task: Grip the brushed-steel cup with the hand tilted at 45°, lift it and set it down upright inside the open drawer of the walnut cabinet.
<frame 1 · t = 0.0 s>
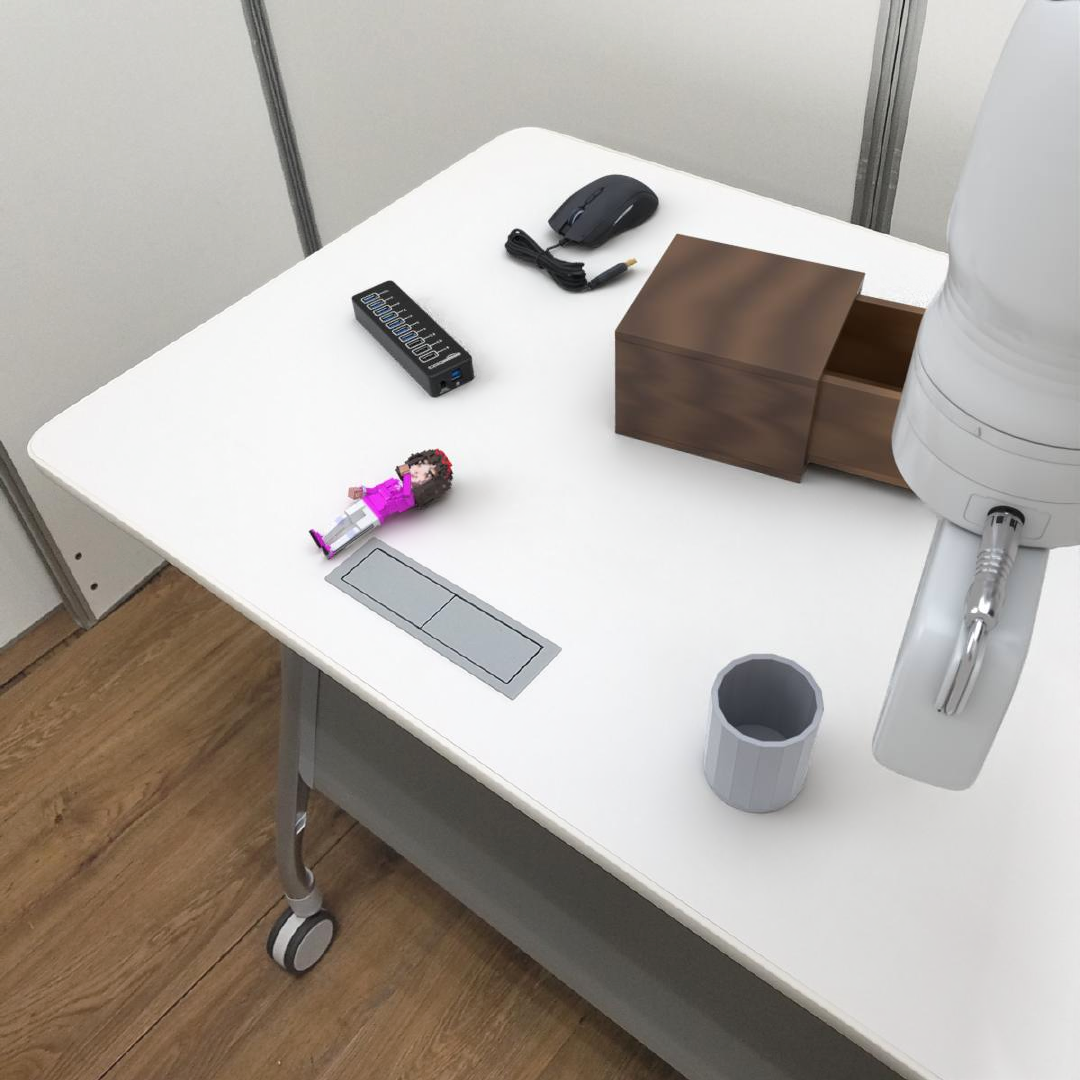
hand: (941, 652, 48), 22 cm above the table, tool pointing down, fingers open, 8 cm apart
multiport hub: (413, 347, 99), on the table
cabinet: (731, 404, 92), on the table
character figurine: (385, 516, 86), on the table
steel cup: (754, 767, 70), on the table
computer mouse: (603, 243, 108), on the table
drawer: (911, 397, 84), point 5 cm above the table, slide at 10.0 cm
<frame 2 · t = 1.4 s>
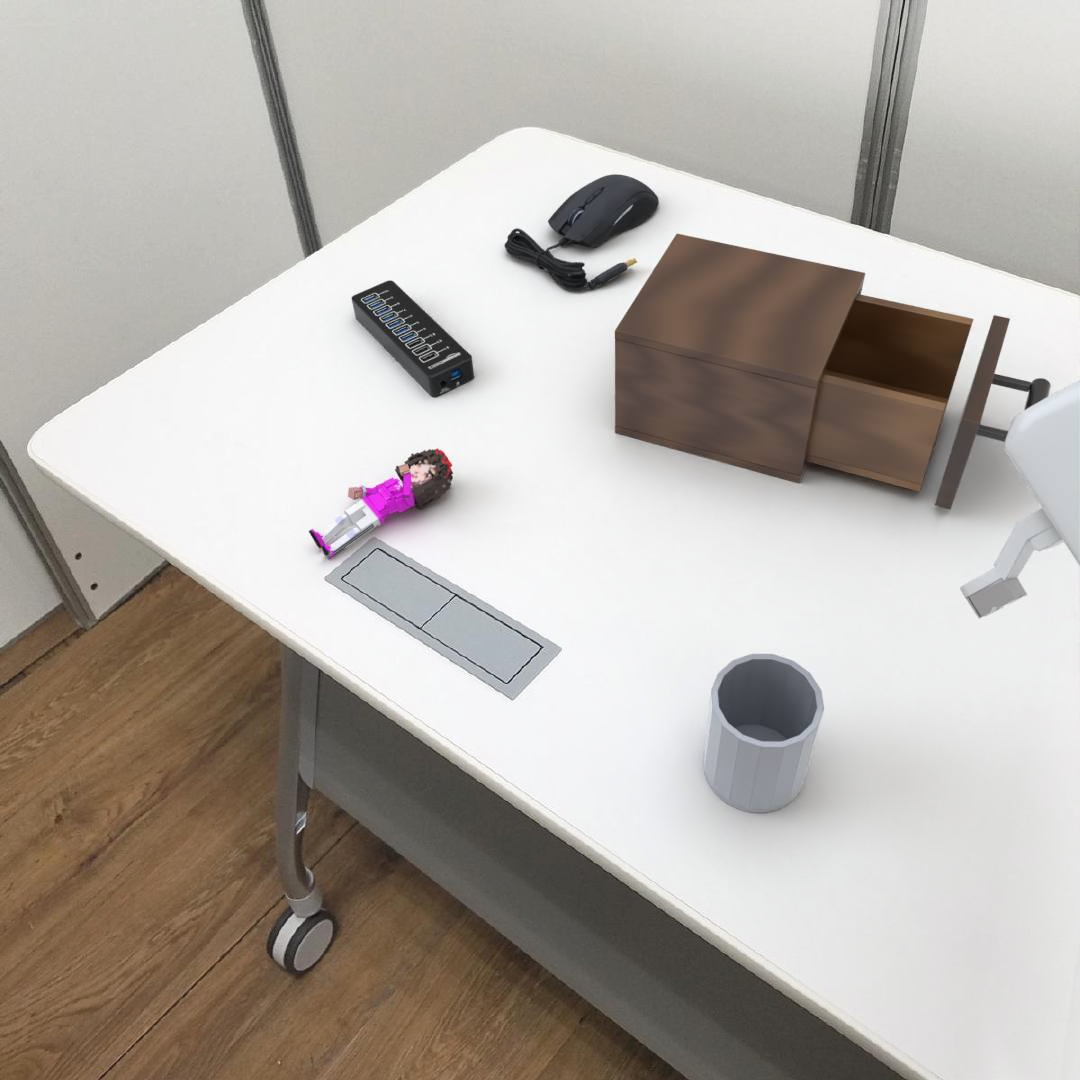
hand: (1036, 705, 44), 24 cm above the table, tool tilted 45°, fingers open, 8 cm apart
nothing on the table moved.
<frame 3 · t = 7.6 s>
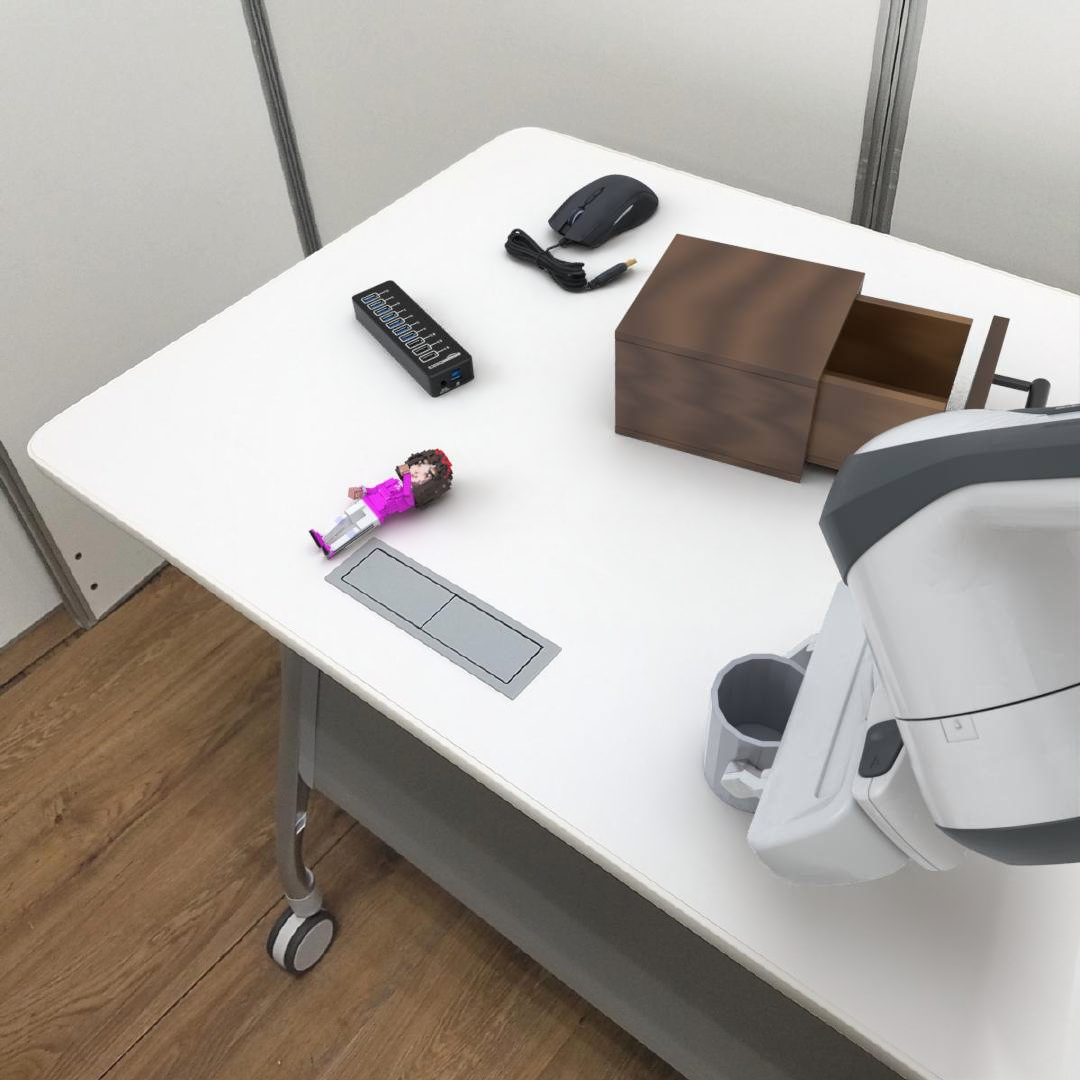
hand: (750, 727, 67), 4 cm above the table, tool tilted 45°, fingers closed on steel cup, 6 cm apart
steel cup: (753, 766, 70), on the table, touching gripper
everything else where it was.
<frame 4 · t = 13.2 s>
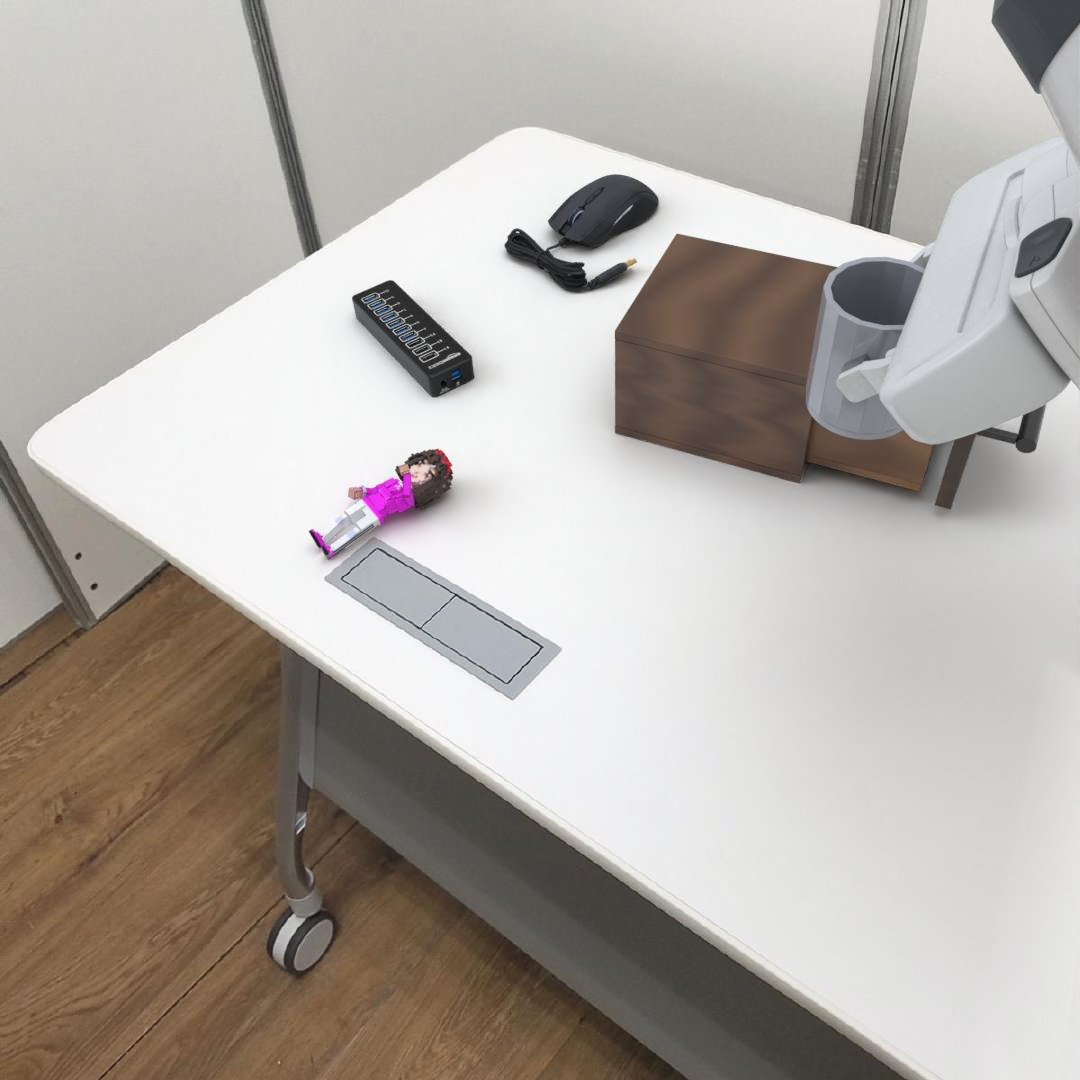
hand: (862, 343, 62), 22 cm above the table, tool tilted 45°, fingers closed on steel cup, 6 cm apart
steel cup: (860, 402, 65), point 18 cm above the table, touching gripper
everything else where it was.
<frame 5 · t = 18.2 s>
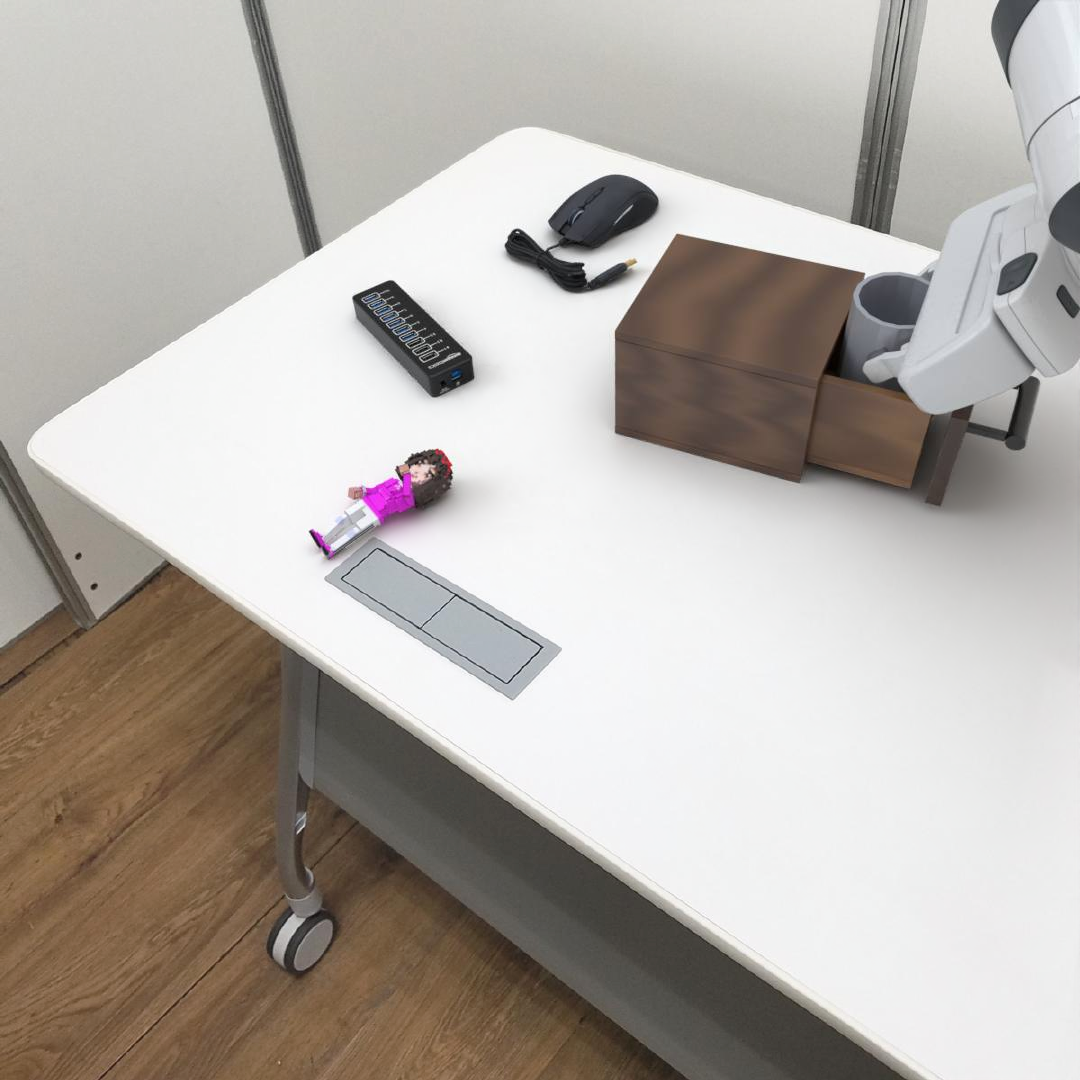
hand: (881, 337, 81), 10 cm above the table, tool tilted 45°, fingers closed on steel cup, 6 cm apart
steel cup: (877, 382, 84), point 6 cm above the table, touching gripper
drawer: (901, 394, 84), point 5 cm above the table, slide at 9.3 cm, touching gripper
everything else where it was.
when the fingers open (10 cm above the table, at t = 19.3 s): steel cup stays where it is, resting on cabinet, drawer.
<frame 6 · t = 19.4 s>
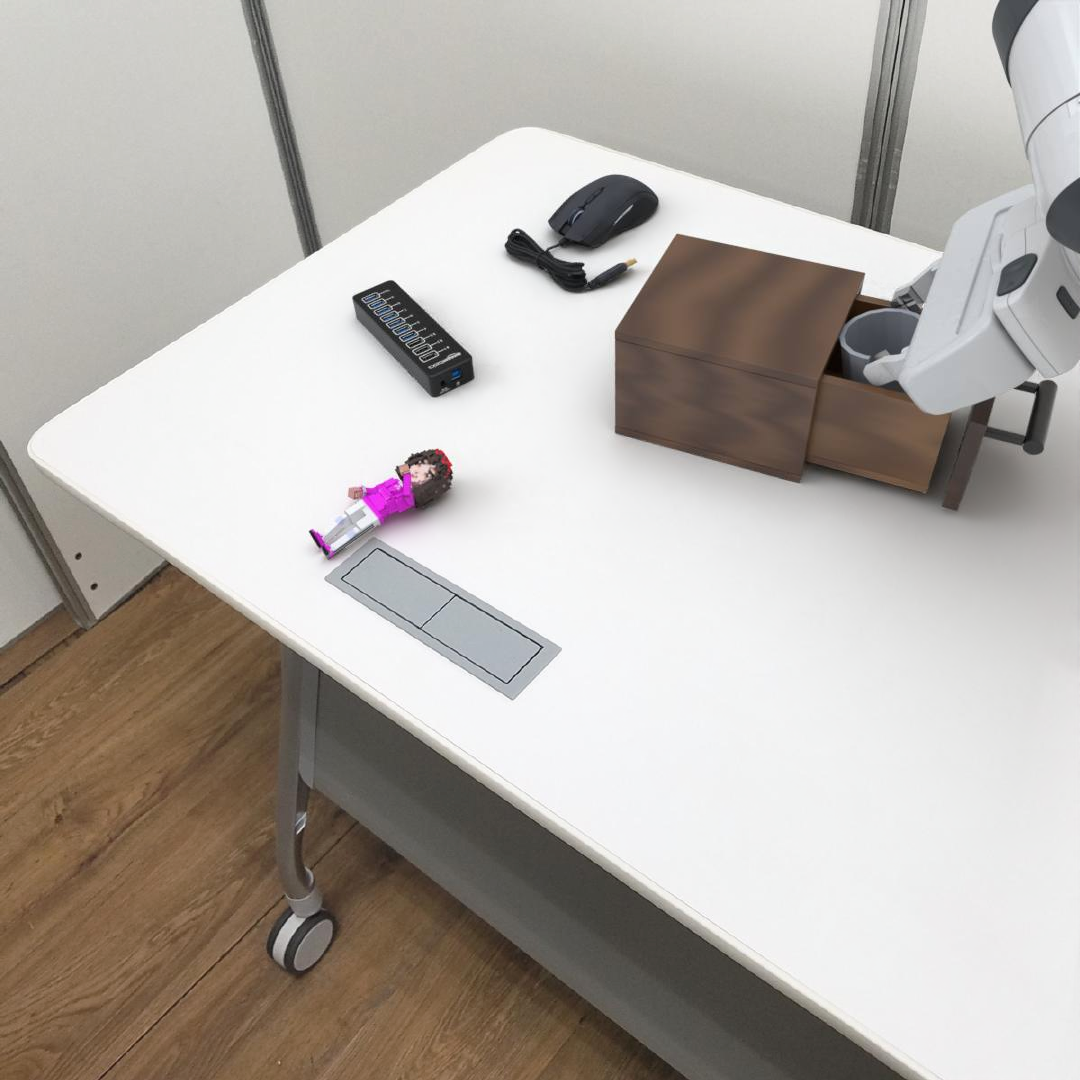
hand: (883, 337, 81), 10 cm above the table, tool tilted 45°, fingers open, 7 cm apart
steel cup: (887, 417, 86), point 3 cm above the table, tilted 12°, touching cabinet, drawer, gripper
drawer: (917, 398, 84), point 5 cm above the table, slide at 10.5 cm, touching gripper, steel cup
everything else where it was.
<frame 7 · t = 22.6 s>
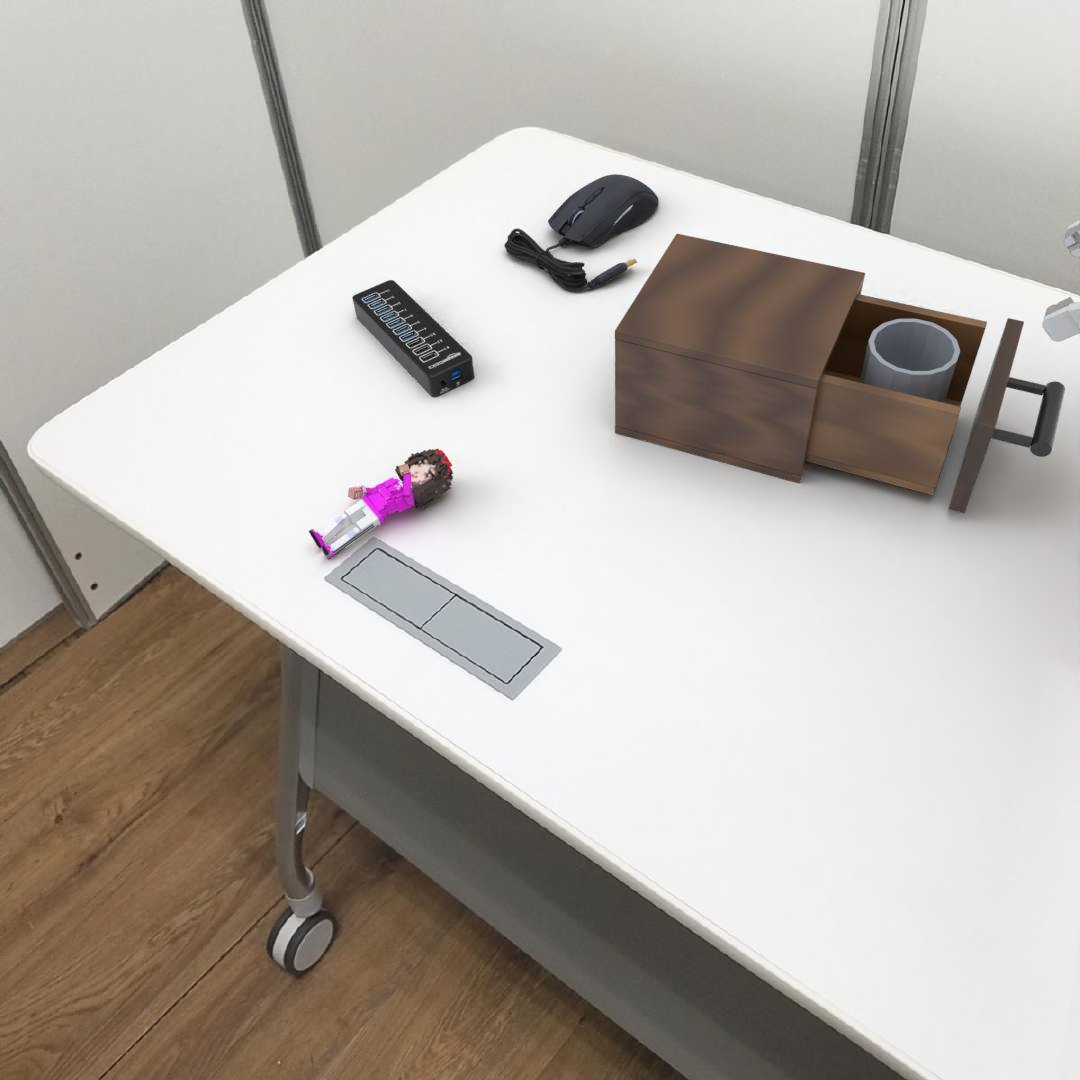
hand: (1059, 283, 70), 19 cm above the table, tool tilted 45°, fingers open, 8 cm apart
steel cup: (893, 425, 86), point 2 cm above the table, touching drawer
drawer: (924, 400, 83), point 5 cm above the table, slide at 11.0 cm, touching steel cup
everything else where it was.
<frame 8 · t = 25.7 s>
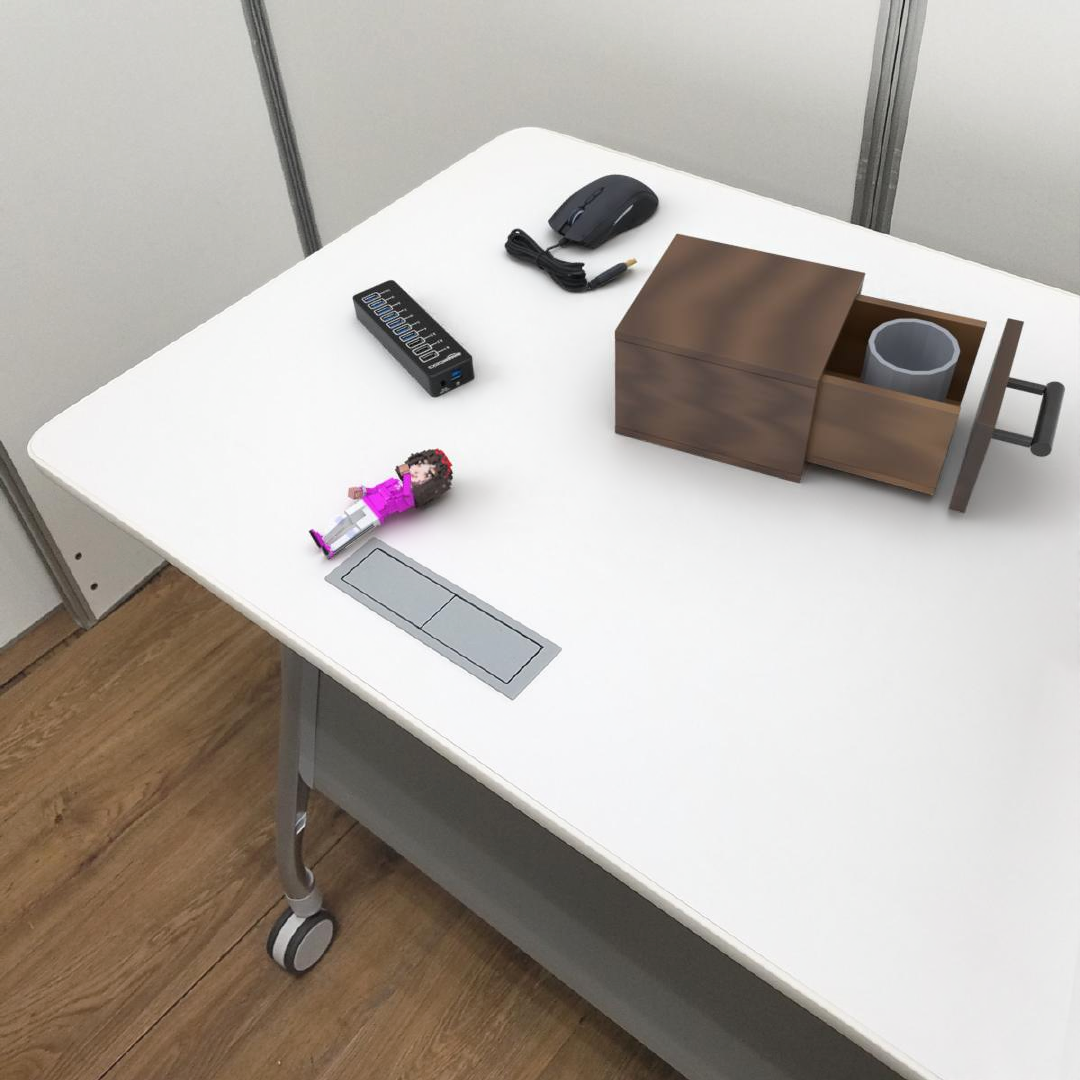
nothing on the table moved.
at the end: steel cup inside the target area in the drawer (1.6 cm from its centre), point 2.0 cm above the cabinet's base; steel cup tilted 0°; the gripper is holding nothing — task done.
